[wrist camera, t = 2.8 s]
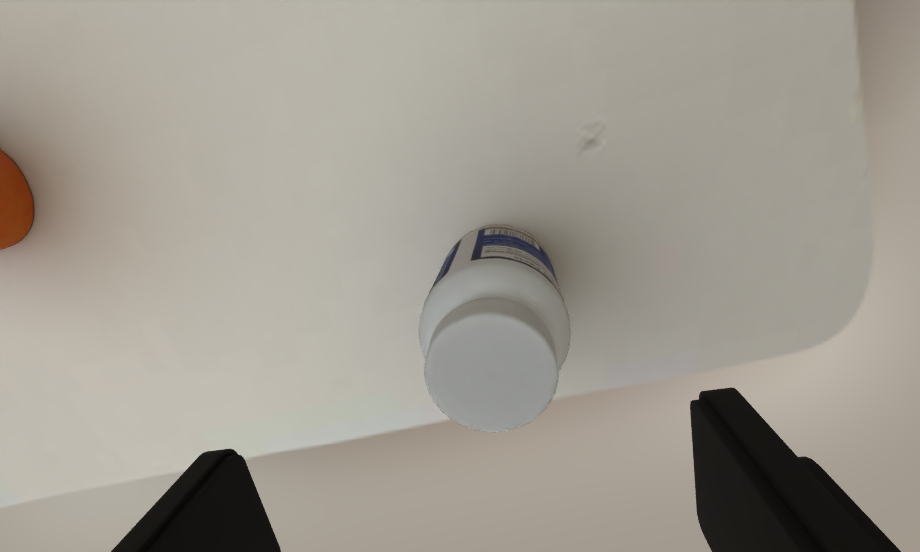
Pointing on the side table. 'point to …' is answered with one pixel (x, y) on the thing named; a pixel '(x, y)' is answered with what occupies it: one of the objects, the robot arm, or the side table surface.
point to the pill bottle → (494, 331)
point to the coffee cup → (13, 203)
